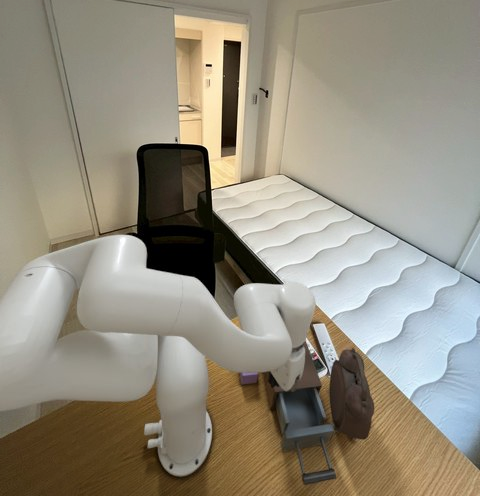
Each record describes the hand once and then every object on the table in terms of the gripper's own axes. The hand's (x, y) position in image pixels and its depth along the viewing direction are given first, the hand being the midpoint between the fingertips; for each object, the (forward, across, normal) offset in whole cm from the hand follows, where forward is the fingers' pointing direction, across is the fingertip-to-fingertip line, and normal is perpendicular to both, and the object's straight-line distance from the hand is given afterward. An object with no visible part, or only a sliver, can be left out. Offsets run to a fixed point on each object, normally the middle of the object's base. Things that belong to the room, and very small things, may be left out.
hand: (274, 381), depth 59 cm
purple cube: (+12, -9, -1) cm, 15 cm away
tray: (+11, +7, +4) cm, 14 cm away
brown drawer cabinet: (+12, -3, +9) cm, 15 cm away
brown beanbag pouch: (+12, +11, +16) cm, 23 cm away
